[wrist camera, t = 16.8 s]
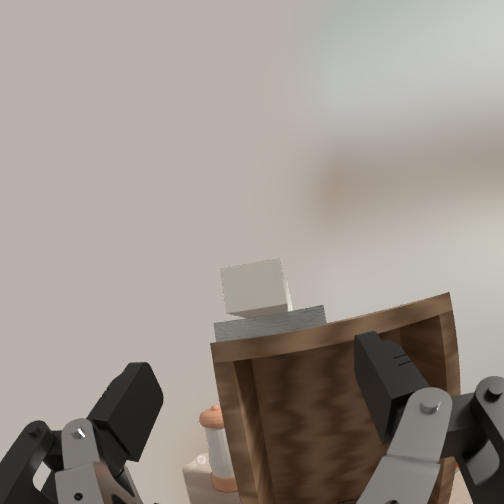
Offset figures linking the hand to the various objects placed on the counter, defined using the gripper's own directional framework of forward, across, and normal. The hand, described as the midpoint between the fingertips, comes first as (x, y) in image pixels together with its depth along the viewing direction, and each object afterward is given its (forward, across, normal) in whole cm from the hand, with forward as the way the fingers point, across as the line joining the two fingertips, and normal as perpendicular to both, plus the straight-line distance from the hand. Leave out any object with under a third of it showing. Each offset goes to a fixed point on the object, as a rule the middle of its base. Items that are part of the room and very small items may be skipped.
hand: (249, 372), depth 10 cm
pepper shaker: (+19, +14, +47) cm, 53 cm away
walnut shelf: (+5, -7, +38) cm, 39 cm away
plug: (+16, 0, +6) cm, 18 cm away
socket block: (+20, 0, +10) cm, 23 cm away
